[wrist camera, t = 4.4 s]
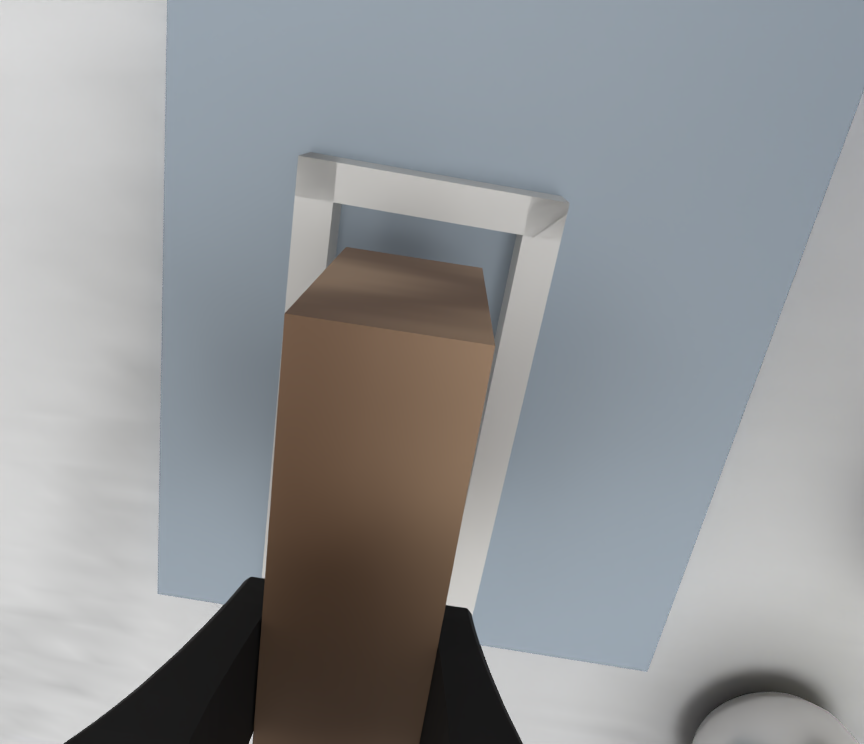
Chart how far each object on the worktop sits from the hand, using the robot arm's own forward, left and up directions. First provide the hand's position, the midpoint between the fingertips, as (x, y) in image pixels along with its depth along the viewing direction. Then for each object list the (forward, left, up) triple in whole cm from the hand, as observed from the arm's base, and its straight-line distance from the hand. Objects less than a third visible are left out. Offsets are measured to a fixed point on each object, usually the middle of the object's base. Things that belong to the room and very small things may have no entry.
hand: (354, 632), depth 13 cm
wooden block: (0, -1, -4) cm, 4 cm away
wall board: (-1, -7, -10) cm, 12 cm away
